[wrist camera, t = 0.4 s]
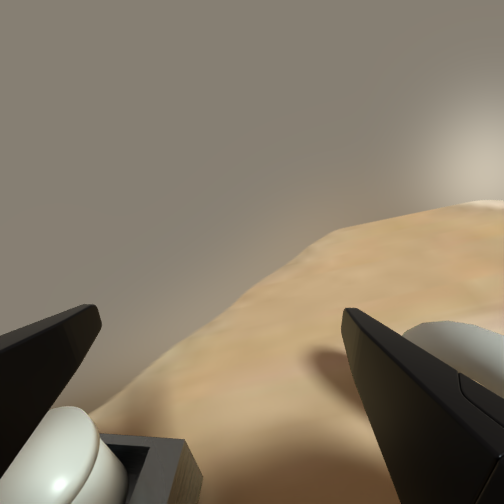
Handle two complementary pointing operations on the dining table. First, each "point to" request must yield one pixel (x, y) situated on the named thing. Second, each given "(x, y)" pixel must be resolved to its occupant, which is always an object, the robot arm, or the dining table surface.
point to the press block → (157, 469)
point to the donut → (464, 350)
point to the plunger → (65, 465)
